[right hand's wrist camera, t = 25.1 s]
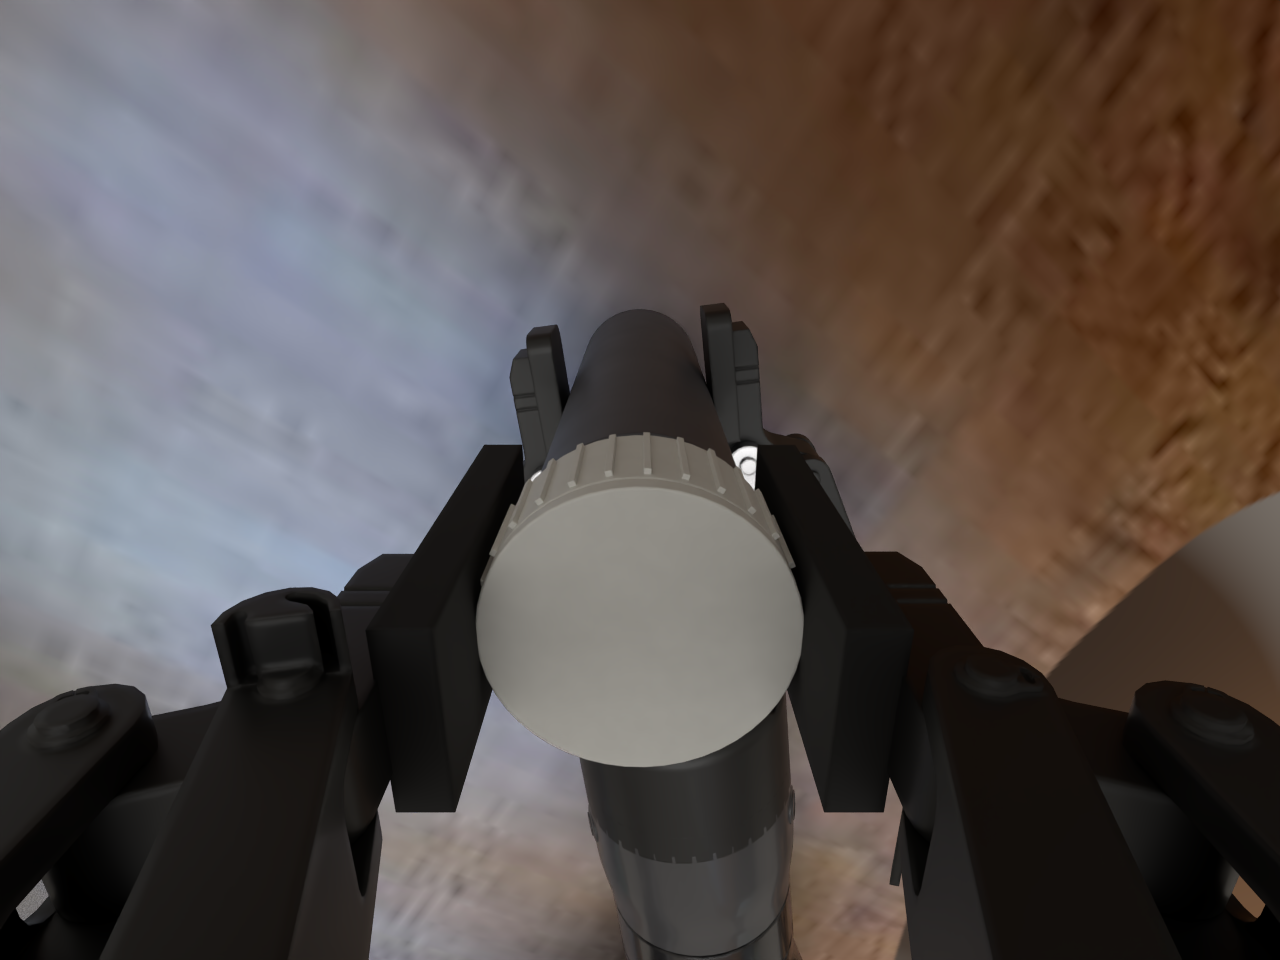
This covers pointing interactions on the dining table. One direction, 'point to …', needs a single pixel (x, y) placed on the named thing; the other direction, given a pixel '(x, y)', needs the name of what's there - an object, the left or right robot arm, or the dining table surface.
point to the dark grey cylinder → (639, 388)
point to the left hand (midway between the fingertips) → (629, 321)
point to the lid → (639, 604)
